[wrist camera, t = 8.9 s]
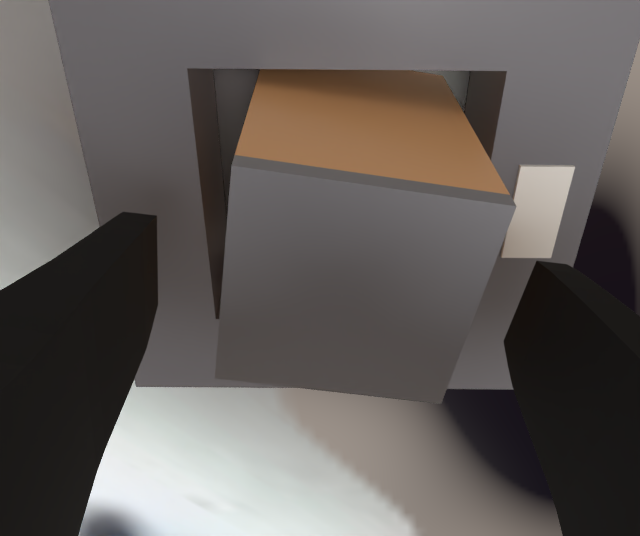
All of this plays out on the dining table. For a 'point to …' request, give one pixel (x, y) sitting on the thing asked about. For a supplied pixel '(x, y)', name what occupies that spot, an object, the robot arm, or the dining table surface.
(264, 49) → the socket block
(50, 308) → the robot arm
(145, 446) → the dining table surface
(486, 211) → the plug
